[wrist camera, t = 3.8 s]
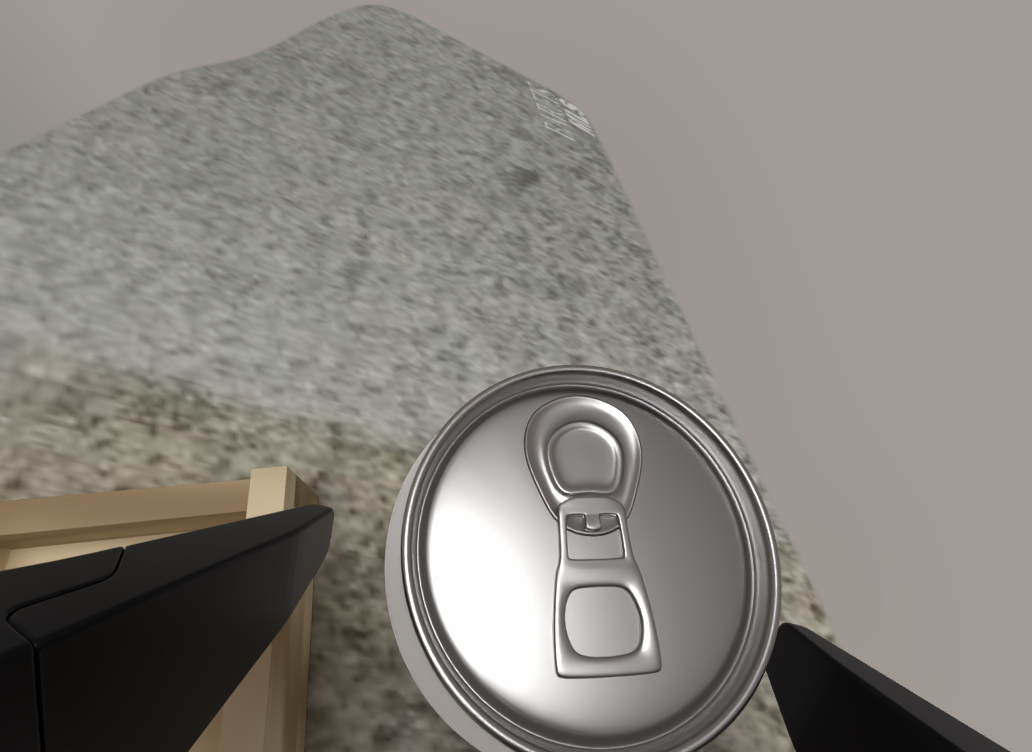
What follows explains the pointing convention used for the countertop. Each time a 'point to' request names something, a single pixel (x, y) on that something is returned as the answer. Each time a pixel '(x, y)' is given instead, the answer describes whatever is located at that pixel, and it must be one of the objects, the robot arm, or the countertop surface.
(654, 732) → the can
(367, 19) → the countertop surface
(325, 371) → the countertop surface
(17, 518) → the rack
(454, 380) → the countertop surface
